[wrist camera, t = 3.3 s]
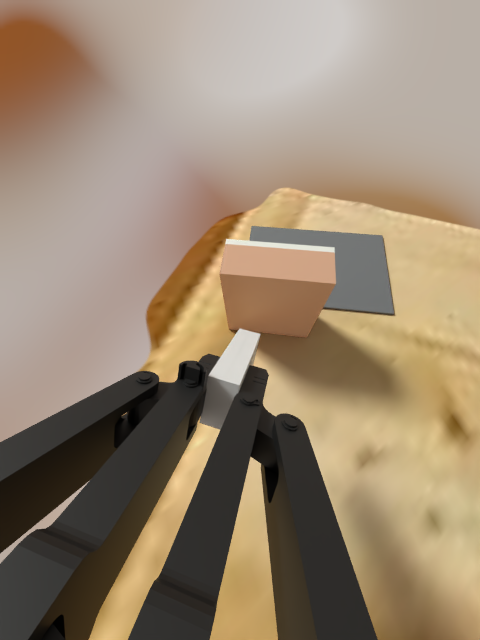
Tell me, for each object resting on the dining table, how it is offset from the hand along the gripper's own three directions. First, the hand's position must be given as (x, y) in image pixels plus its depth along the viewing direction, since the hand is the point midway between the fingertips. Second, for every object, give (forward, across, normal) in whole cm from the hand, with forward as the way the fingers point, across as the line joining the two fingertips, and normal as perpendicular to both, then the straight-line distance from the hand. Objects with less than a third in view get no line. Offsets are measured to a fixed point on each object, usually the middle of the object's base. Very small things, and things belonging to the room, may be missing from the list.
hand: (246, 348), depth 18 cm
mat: (+23, -5, -4) cm, 24 cm away
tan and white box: (+16, 0, +3) cm, 16 cm away
